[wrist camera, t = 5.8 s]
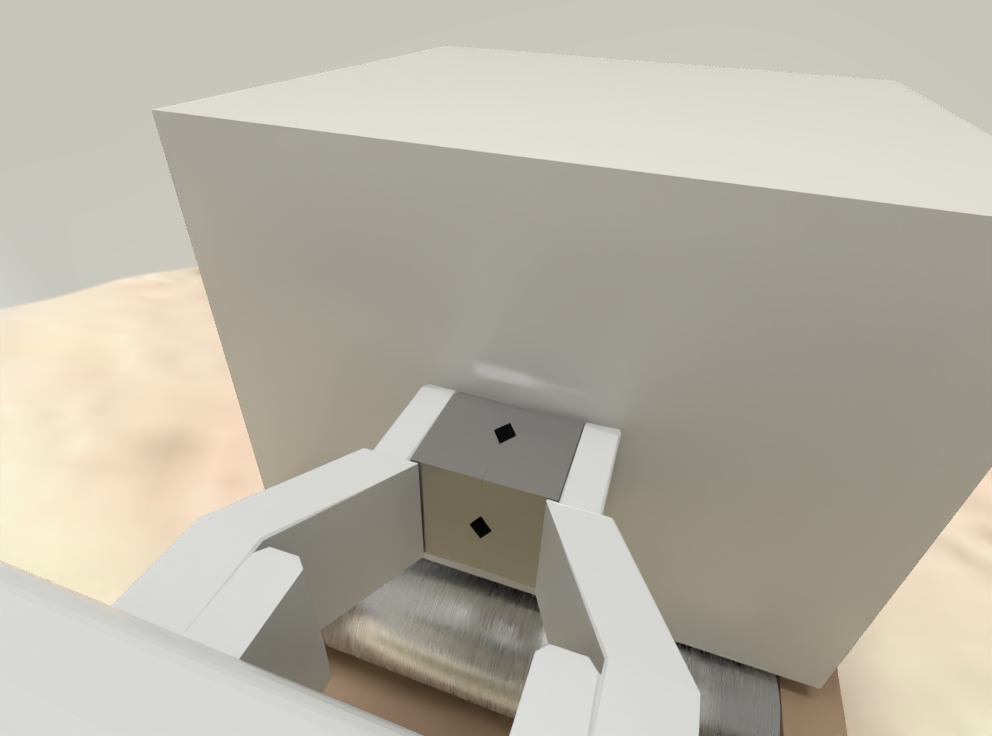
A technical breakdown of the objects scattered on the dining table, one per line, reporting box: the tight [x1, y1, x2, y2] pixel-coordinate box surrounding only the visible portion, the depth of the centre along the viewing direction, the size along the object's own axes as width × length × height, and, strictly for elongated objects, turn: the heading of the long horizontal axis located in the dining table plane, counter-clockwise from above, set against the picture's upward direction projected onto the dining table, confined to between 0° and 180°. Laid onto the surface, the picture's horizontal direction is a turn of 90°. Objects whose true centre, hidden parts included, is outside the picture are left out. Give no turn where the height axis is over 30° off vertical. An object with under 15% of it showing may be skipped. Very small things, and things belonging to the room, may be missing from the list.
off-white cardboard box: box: [152, 46, 992, 689], centre depth 12 cm, size 10×11×8 cm
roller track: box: [320, 558, 847, 736], centre depth 18 cm, size 22×12×7 cm, turn 161°
